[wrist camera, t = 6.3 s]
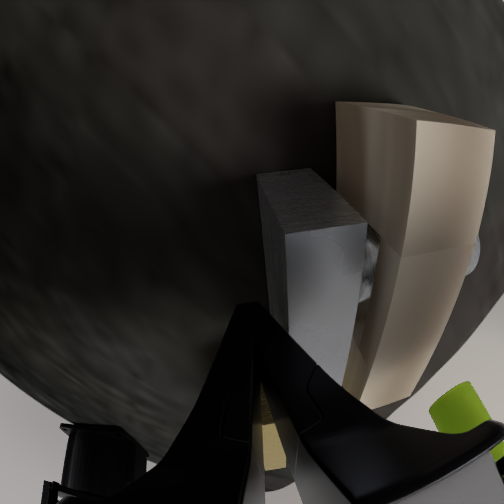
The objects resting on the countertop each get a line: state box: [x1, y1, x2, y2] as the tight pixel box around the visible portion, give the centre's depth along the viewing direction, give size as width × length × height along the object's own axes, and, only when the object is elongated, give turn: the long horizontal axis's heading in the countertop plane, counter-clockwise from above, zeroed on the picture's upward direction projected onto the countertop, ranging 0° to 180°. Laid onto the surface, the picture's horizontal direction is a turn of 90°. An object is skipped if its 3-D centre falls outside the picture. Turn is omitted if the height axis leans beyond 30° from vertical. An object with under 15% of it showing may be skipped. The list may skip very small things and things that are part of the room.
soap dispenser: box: [429, 381, 504, 462], centre depth 17 cm, size 6×7×20 cm
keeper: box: [261, 384, 286, 471], centre depth 14 cm, size 1×7×5 cm, turn 5°
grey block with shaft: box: [256, 168, 480, 386], centre depth 11 cm, size 9×7×5 cm
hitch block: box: [335, 102, 495, 409], centre depth 10 cm, size 3×12×5 cm, turn 5°
